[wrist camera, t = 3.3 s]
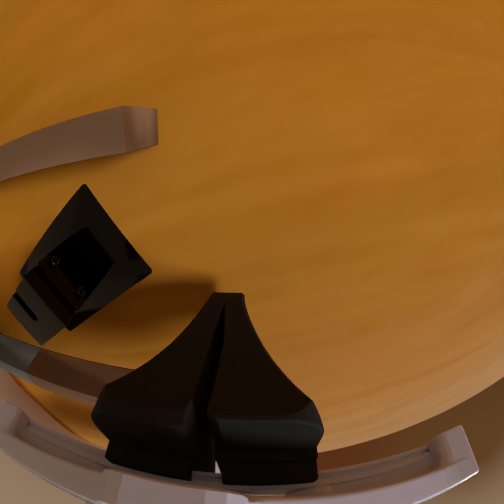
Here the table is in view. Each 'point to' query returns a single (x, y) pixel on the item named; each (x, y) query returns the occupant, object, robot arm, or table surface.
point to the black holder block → (75, 269)
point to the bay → (52, 154)
